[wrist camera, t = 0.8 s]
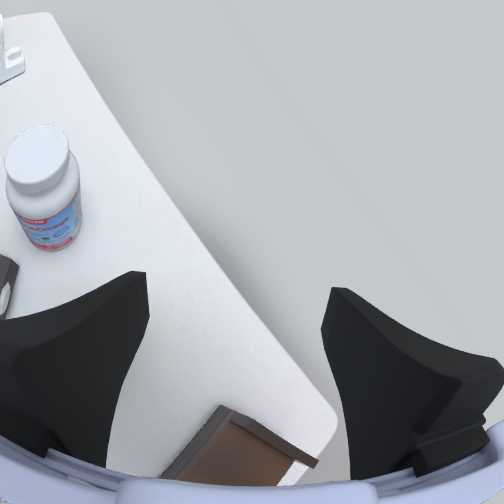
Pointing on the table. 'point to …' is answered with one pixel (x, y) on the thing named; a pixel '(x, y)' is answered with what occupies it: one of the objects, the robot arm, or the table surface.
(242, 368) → the table surface
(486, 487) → the robot arm
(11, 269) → the electronic device
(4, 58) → the cable organizer
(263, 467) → the shelf
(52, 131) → the pill bottle
